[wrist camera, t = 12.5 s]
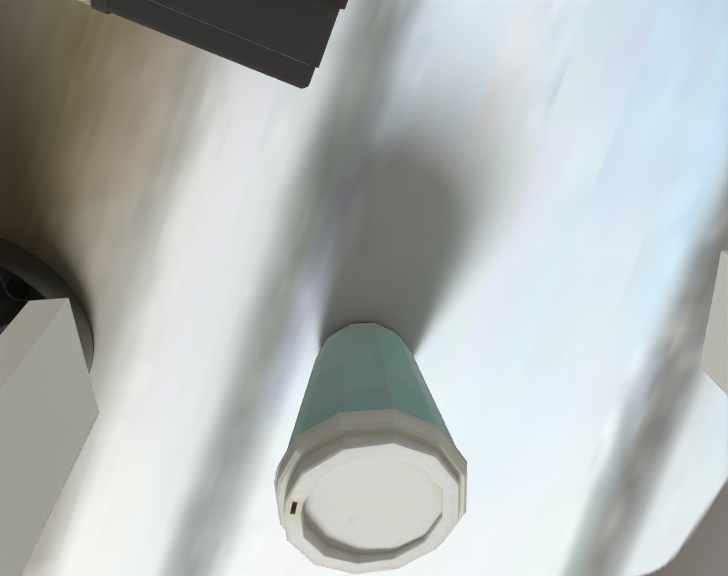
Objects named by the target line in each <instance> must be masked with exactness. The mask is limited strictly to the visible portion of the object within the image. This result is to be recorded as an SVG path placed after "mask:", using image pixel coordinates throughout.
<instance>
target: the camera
mask: <svg viewBox="0 0 728 576" xmlns="http://www.w3.org/2000/svg"><path fill="white" fill-rule="evenodd" d="M78 1H81V2H83V3H86V4H88V5H91V7H92V8H93V9H96V10H98V11H101V12H103V13H106V14H110V13H113V14H116V15H118V16H121V17H123V18H126V19H128V20H131V21H133V22H136V23H138V24H141V25H143V26H146V27H148V28H151V29H153V30H156V31H158V32H161V33H163V34H166V35H168V36H171V37H173V38H176V39H178V40H181V41H183V42H186V43H188V44H191V45H193V46H196V47H198V48H201V49H203V50H206V51H208V52H211V53H213V54H216V55H218V56H221V57H223V58H226V59H228V60H231V61H233V62H236V63H238V64H241V65H243V66H246V67H248V68H251V69H253V70H256V71H258V72H261V73H263V74H266V75H268V76H271V77H273V78H276V79H278V80H281V81H283V82H286V83H288V84H291V85H293V86H296V87H298V88H301V89H302V88H306V87H308V86H309V84H310V81H311V78H312V75H313V73H314V70H315V67H316V68H319V65H320V62H321V60H322V57H323V54H324V51H325V49H326V46H327V43H328V40H329V37H330V35H331V32H332V29H333V26H334V24H335V21H336V18H337V15H338V12H339V10H340V9H345V7H346V4H347V2H348V0H78Z"/></svg>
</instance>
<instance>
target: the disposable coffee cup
mask: <svg viewBox="0 0 728 576" xmlns="http://www.w3.org/2000/svg"><path fill="white" fill-rule="evenodd" d="M274 484H275V491H276V499H277V506H278V513H279V520H280V524H281V525H282V526H283V527H284V528H285V530H286V536H287V540H288V541H289V542H290V543H291V544H292V545H293V546H294V547H295V548H297V549H298V550H299V551H300V552H301V553H302V554H303V555H304V556H305V557H307V558H308V559H309V560H310V561H311V562H312V563H313V564H315V565H319V566H323V567H327V568H331V569H336V570H340V571H344V572H348V573H352V574H359V573H367V572H375V571H383V570H391V569H398V568H400V567H402V566H404V565H406V564H408V563H410V562H412V561H414V560H416V559H417V558H419V557H421V556H423V555H425V554H427V553H429V552H431V551H433V550H435V549H436V548H437V547H438V546H440V545H441V544H442V543H443V541H444V540H445V539H446V537H447V536H448V535H449V534H450V532H451V531H452V530H453V528H454V527H455V526H456V524H457V523H458V522H459V520H460V519H461V518H462V516H463V515H464V514H465V513H466V491H467V461H466V460H465V459H464V457H463V456H462V455H461V453H460V452H459V451H458V449H457V448H456V446H455V444H454V442H453V440H452V437H451V435H450V433H449V431H448V429H447V427H446V425H445V423H444V420H443V418H442V416H441V414H440V412H439V410H438V408H437V406H436V404H435V401H434V399H433V397H432V395H431V393H430V391H429V389H428V387H427V384H426V382H425V380H424V378H423V376H422V374H421V372H420V370H419V367H418V365H417V363H416V361H415V359H414V357H413V355H412V353H411V351H410V350H409V348H408V347H407V346H406V344H405V343H404V342H403V340H402V339H401V338H400V336H399V335H398V334H397V333H395V332H394V331H392V330H390V329H387V328H385V327H383V326H380V325H378V324H376V323H358V324H349V325H347V326H346V327H344V328H342V329H341V330H339V331H337V332H335V333H334V334H332V335H331V336H330V337H329V338H327V340H326V341H325V343H324V345H323V347H322V348H321V350H320V352H319V354H318V356H317V357H316V360H315V363H314V366H313V369H312V373H311V376H310V379H309V382H308V385H307V388H306V392H305V395H304V398H303V401H302V404H301V407H300V411H299V414H298V417H297V420H296V423H295V426H294V430H293V433H292V436H291V439H290V442H289V445H288V449H287V451H286V453H285V455H284V456H283V458H282V460H281V461H280V463H279V465H278V467H277V471H276V476H275V481H274Z"/></svg>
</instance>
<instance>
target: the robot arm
mask: <svg viewBox="0 0 728 576" xmlns="http://www.w3.org/2000/svg"><path fill="white" fill-rule="evenodd" d="M92 359H93V340H92V334H91V330H90V326H89V323H88V320H87V317H86V315H85V312H84V310H83V308H82V307H81V305H80V303H79V301H78V300H77V298H76V296H75V295H74V294H73V292H72V291H71V290H70V288H69V287H68V286H67V285H66V283H65V282H64V281H63V280H62V279H61V278H60V277H59V276H58V275H57V274H56V273H55V272H54V271H53V270H51V269H50V268H49V267H48V266H47V265H45V264H44V263H43V262H41V261H40V260H39V259H37V258H35V257H34V256H32V255H31V254H29V253H27V252H26V251H24V250H22V249H20V248H18V247H16V246H14V245H11V244H9V243H7V242H4V241H1V240H0V576H21V574H22V572H23V570H24V568H25V566H26V564H27V562H28V560H29V558H30V555H31V553H32V551H33V549H34V547H35V545H36V543H37V541H38V539H39V537H40V535H41V533H42V530H43V528H44V526H45V524H46V522H47V520H48V518H49V516H50V514H51V512H52V510H53V508H54V506H55V503H56V501H57V499H58V497H59V495H60V493H61V491H62V489H63V487H64V485H65V483H66V481H67V478H68V476H69V474H70V472H71V470H72V468H73V466H74V464H75V462H76V460H77V458H78V456H79V454H80V451H81V449H82V447H83V445H84V443H85V441H86V439H87V437H88V435H89V433H90V431H91V429H92V426H93V424H94V422H95V420H96V418H97V416H98V414H99V411H98V407H97V403H96V400H95V396H94V392H93V388H92V384H91V381H90V377H89V372H90V369H91V365H92ZM700 367H701V368H702V369H703V370H704V371H705V372H706V373H707V374H708V375H709V377H710V378H711V379H712V380H713V381H714V382H715V383H716V384H717V385H718V386H719V387H720V388H721V389H722V390H723V391H724V392H725V394H726V395H727V396H728V250H726V251H721V257H720V262H719V267H718V273H717V278H716V283H715V288H714V294H713V299H712V304H711V310H710V315H709V320H708V326H707V331H706V336H705V342H704V347H703V352H702V358H701V363H700Z"/></svg>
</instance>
